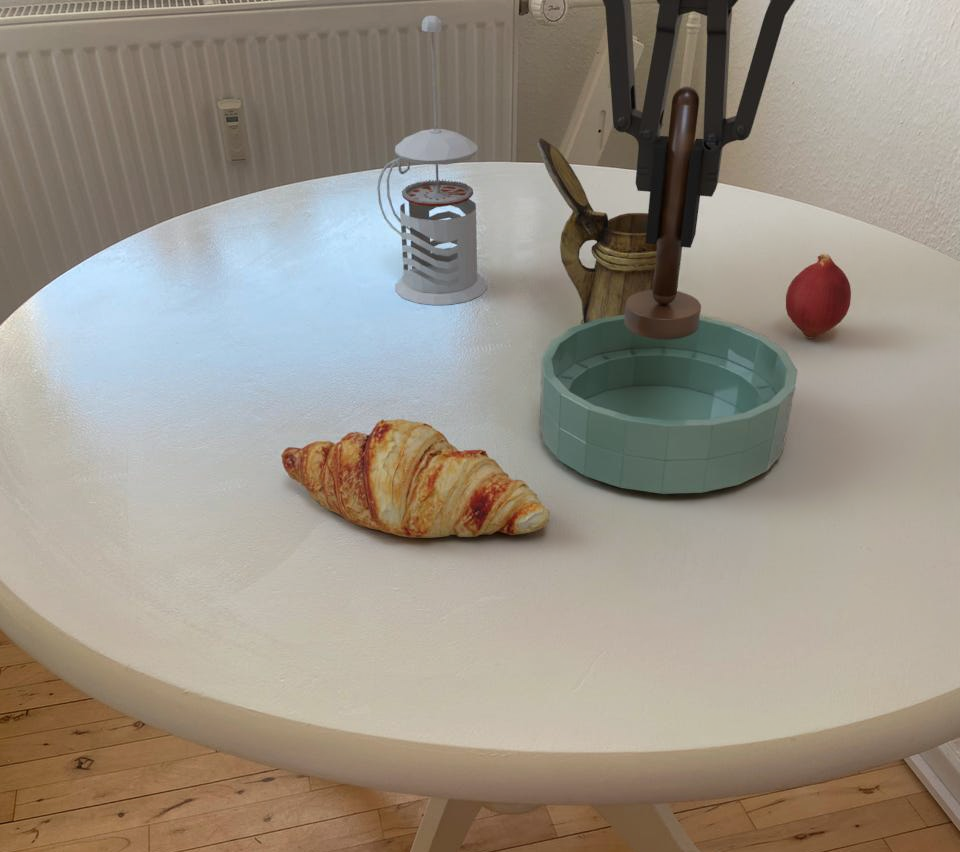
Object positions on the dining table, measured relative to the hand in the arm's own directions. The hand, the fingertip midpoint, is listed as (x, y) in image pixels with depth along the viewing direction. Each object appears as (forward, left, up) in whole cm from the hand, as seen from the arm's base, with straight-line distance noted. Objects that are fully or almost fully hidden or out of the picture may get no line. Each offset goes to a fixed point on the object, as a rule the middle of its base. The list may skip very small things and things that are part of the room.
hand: (670, 238), depth 76 cm
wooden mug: (+7, -18, -17) cm, 25 cm away
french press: (+27, -27, -17) cm, 41 cm away
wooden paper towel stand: (0, 0, -6) cm, 6 cm away
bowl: (-1, -1, -16) cm, 16 cm away
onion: (-12, -24, -17) cm, 31 cm away
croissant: (+15, +15, -17) cm, 27 cm away
